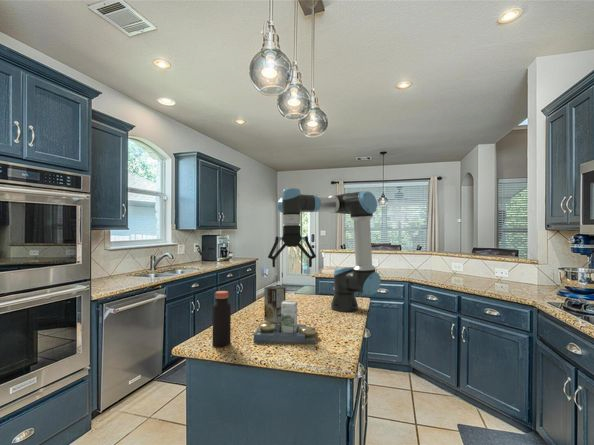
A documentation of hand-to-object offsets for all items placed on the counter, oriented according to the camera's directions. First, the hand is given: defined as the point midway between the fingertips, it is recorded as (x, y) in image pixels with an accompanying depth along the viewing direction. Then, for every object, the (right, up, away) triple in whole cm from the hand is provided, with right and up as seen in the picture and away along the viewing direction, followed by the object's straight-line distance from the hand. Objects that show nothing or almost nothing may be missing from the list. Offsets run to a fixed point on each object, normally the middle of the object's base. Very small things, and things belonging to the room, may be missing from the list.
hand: (292, 275), depth 133 cm
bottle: (-27, -25, -12) cm, 39 cm away
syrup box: (-1, -25, -4) cm, 25 cm away
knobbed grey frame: (-4, -25, -4) cm, 26 cm away
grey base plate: (+1, -25, -4) cm, 25 cm away
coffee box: (-9, -26, +20) cm, 34 cm away
